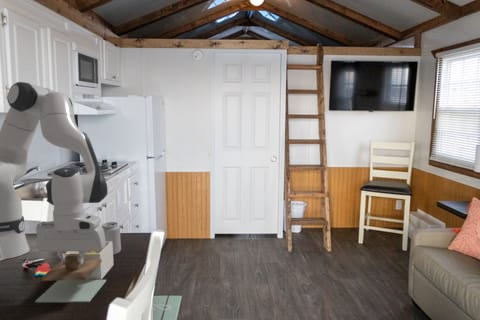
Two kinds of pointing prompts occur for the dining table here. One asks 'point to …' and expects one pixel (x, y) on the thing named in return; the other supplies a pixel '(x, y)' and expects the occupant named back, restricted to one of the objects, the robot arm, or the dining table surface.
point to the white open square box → (103, 254)
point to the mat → (72, 291)
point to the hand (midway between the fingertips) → (72, 263)
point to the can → (113, 235)
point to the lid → (72, 269)
